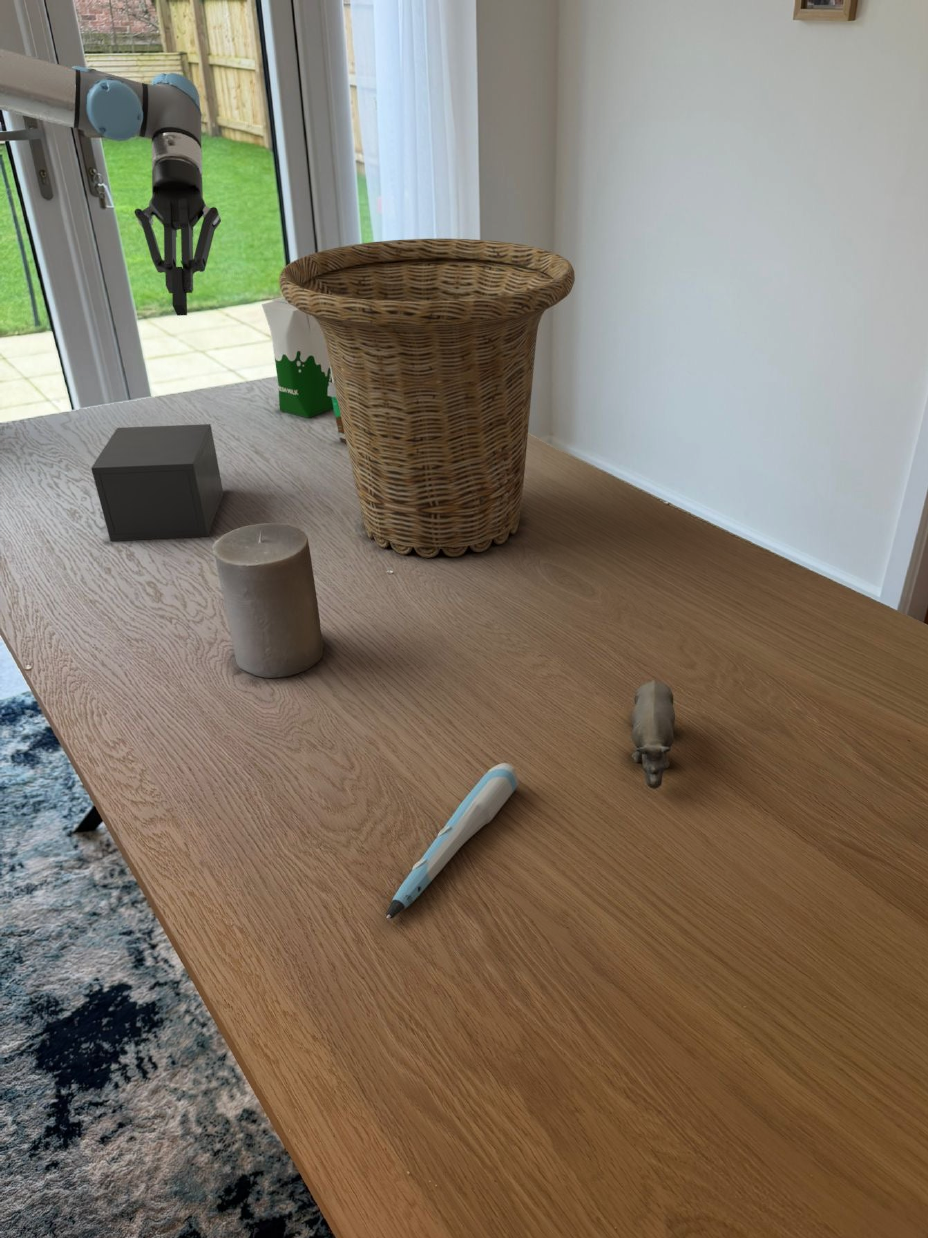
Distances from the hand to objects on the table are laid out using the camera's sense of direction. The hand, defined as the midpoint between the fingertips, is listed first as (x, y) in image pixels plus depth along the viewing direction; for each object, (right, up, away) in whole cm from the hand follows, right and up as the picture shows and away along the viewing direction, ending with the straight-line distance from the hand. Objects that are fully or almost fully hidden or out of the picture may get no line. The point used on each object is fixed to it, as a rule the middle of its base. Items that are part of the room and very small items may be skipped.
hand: (179, 310), depth 157 cm
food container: (+28, -17, +11) cm, 35 cm away
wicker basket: (+42, -36, -16) cm, 57 cm away
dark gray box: (+3, -34, -14) cm, 37 cm away
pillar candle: (+26, -55, -44) cm, 75 cm away
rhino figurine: (+65, -66, -60) cm, 110 cm away
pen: (+48, -73, -69) cm, 111 cm away
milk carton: (+15, -9, +23) cm, 28 cm away
